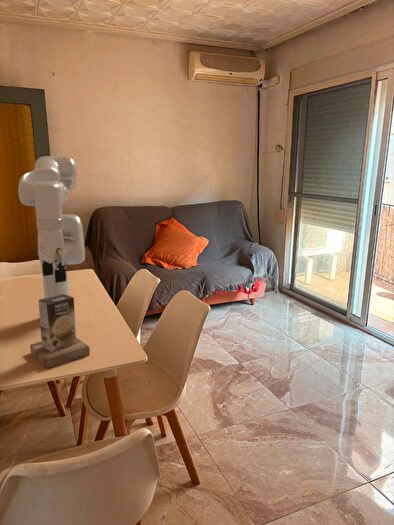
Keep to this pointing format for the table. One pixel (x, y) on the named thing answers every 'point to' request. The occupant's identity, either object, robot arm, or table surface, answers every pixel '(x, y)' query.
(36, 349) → the brownish grey square block
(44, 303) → the coffee box
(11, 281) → the table surface
